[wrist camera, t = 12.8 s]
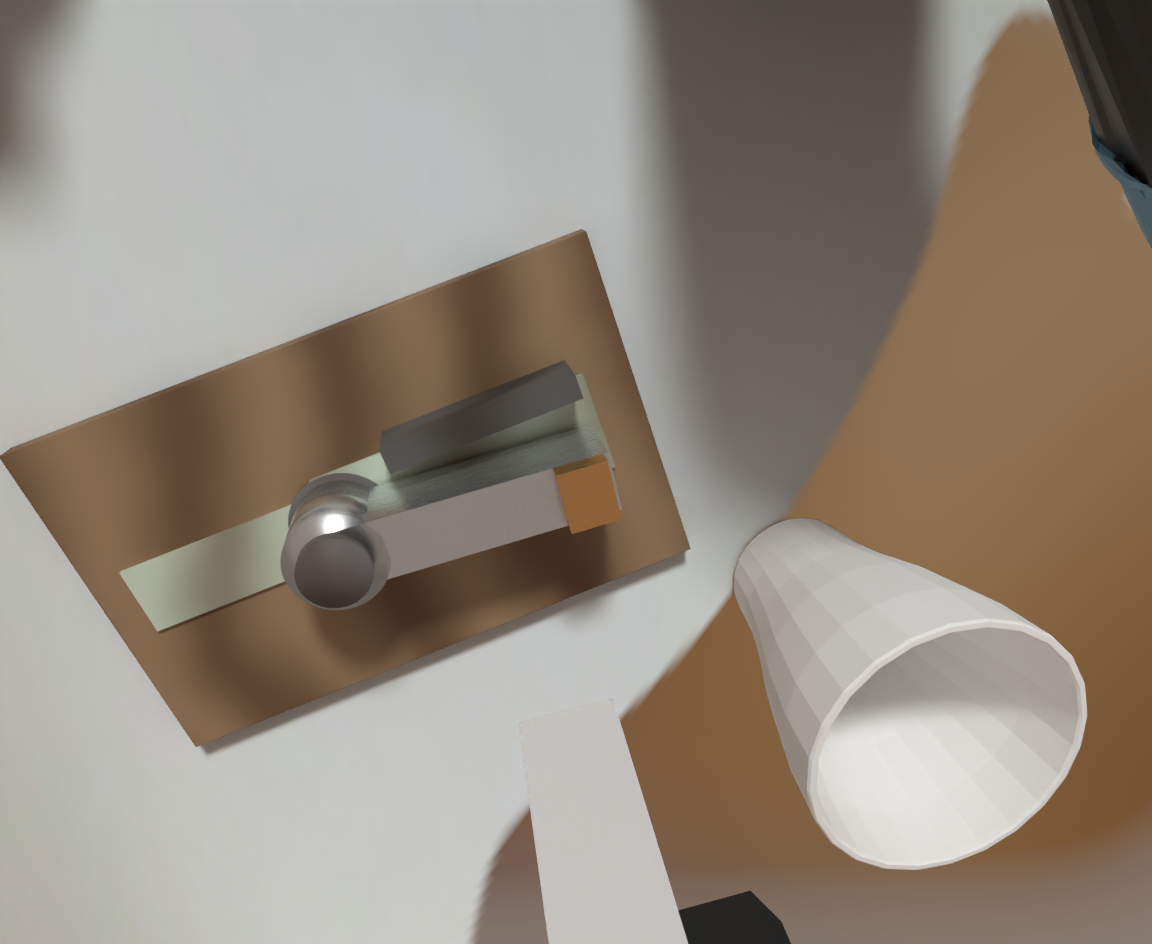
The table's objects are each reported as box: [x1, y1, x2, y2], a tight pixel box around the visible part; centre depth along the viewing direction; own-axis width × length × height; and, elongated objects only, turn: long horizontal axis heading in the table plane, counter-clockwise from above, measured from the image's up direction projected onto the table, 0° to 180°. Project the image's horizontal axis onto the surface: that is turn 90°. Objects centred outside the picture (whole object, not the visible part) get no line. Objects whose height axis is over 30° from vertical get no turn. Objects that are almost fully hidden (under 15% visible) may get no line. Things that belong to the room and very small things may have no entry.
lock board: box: [0, 229, 690, 747], centre depth 34 cm, size 24×15×6 cm, turn 110°
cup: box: [734, 518, 1087, 870], centre depth 36 cm, size 10×10×14 cm
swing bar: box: [280, 424, 622, 610], centre depth 34 cm, size 13×4×4 cm, turn 104°
